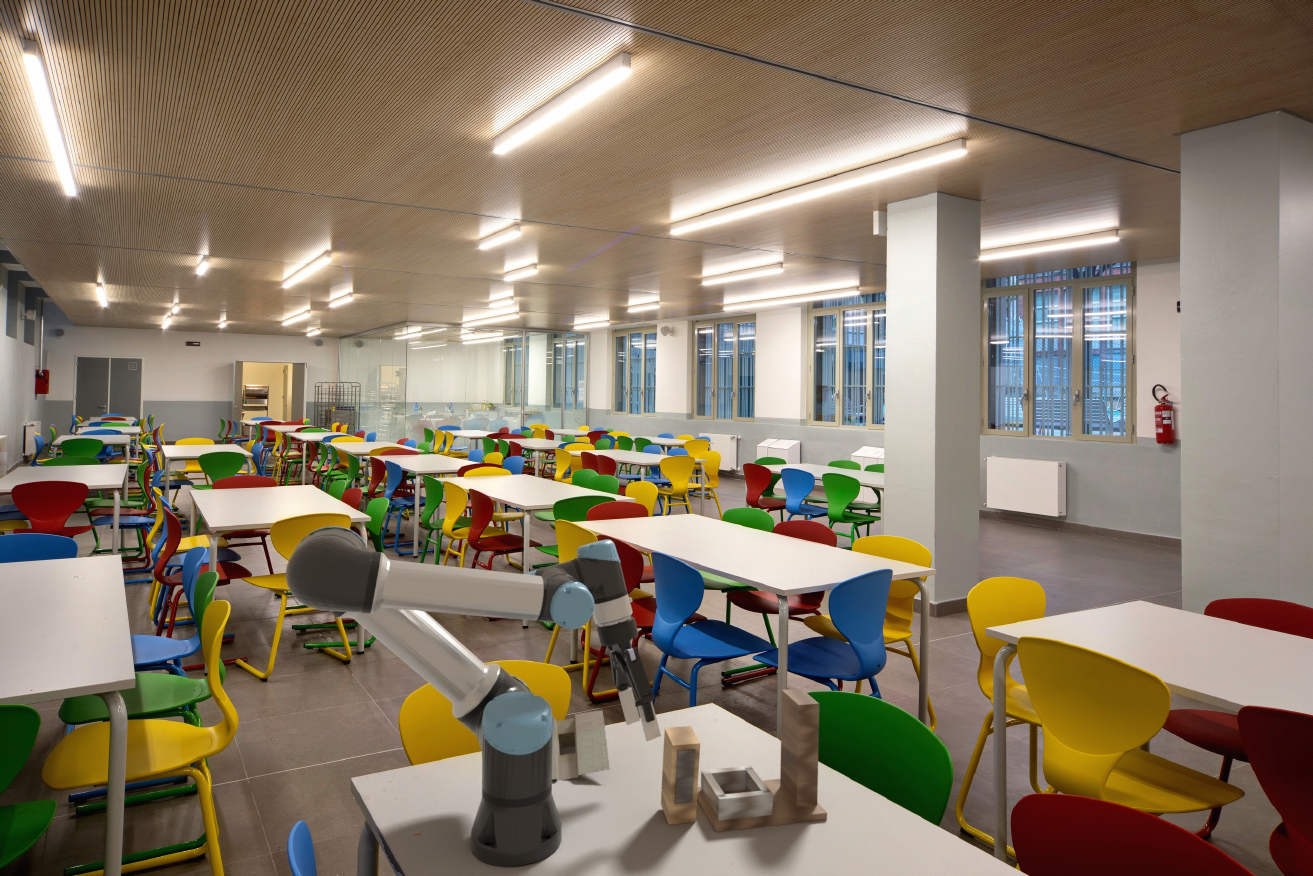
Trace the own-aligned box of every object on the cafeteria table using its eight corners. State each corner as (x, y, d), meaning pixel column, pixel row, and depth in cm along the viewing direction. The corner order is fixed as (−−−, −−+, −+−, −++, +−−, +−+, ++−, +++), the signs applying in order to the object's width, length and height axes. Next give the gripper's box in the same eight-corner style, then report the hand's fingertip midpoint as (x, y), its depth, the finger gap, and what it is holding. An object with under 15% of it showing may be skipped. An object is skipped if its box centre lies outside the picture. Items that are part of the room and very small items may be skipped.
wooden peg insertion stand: (715, 832, 132) (717, 718, 132) (693, 793, 146) (695, 690, 145) (826, 819, 137) (829, 709, 137) (795, 783, 151) (797, 683, 150)
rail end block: (668, 825, 134) (673, 746, 132) (660, 804, 140) (664, 727, 138) (696, 822, 135) (700, 744, 133) (686, 801, 141) (691, 726, 139)
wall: (616, 787, 156) (608, 719, 167) (611, 769, 150) (604, 699, 161) (536, 801, 155) (534, 732, 166) (528, 784, 149) (526, 712, 160)
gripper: (652, 620, 135) (682, 738, 134) (616, 610, 159) (642, 710, 157) (612, 633, 133) (643, 753, 131) (582, 621, 156) (608, 722, 155)
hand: (643, 730), depth 144 cm, fingers open, 13 cm apart
